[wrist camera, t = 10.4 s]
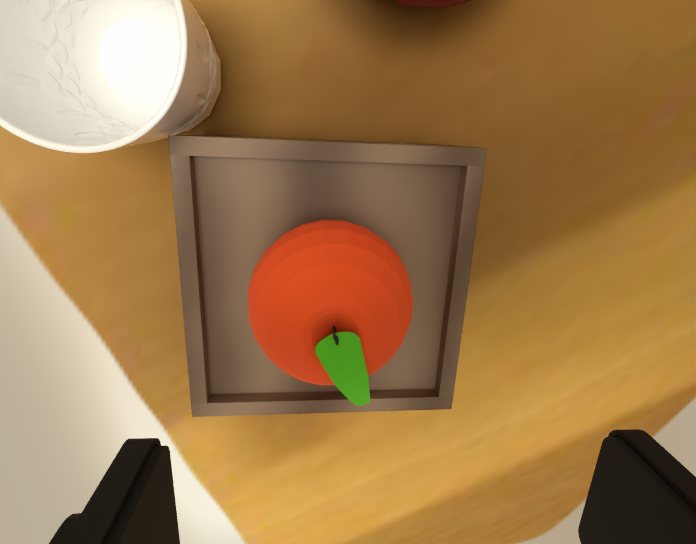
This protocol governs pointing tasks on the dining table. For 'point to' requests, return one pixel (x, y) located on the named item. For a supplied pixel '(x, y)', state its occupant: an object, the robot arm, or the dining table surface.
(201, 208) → the walnut stand
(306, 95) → the dining table surface
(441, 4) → the apple
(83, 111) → the white cup
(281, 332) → the clementine
